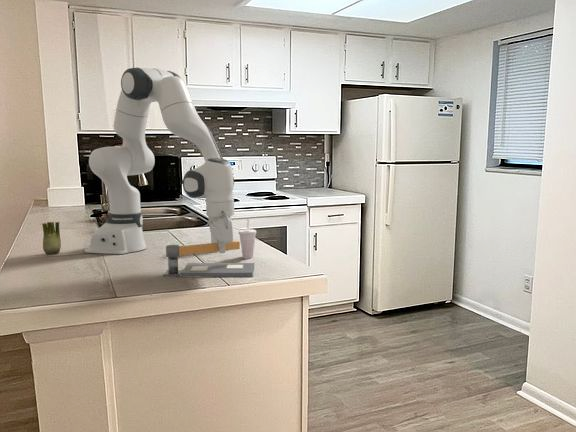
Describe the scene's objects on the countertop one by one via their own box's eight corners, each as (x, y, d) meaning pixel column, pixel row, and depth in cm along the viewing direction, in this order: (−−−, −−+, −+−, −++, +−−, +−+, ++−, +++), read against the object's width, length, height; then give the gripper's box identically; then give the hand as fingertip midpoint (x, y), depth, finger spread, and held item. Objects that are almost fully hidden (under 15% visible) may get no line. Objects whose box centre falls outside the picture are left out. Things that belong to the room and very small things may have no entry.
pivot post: (163, 276, 157) (163, 258, 156) (167, 272, 162) (166, 255, 161) (179, 276, 157) (179, 258, 156) (182, 271, 162) (182, 255, 161)
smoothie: (242, 260, 177) (242, 220, 175) (236, 256, 183) (235, 218, 180) (259, 258, 180) (259, 219, 178) (252, 254, 186) (252, 216, 183)
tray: (181, 276, 156) (181, 271, 156) (188, 266, 168) (188, 262, 168) (252, 276, 157) (252, 271, 156) (254, 266, 169) (254, 262, 168)
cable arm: (168, 258, 156) (167, 247, 155) (164, 255, 159) (164, 245, 159) (240, 250, 166) (240, 240, 166) (236, 247, 170) (236, 238, 169)
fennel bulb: (61, 252, 189) (59, 220, 187) (60, 255, 185) (58, 222, 183) (44, 253, 187) (42, 221, 186) (42, 256, 183) (40, 223, 181)
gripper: (237, 213, 152) (238, 258, 154) (223, 205, 171) (225, 245, 173) (216, 214, 150) (218, 260, 152) (205, 206, 169) (206, 247, 171)
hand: (221, 252), depth 163 cm, fingers closed
